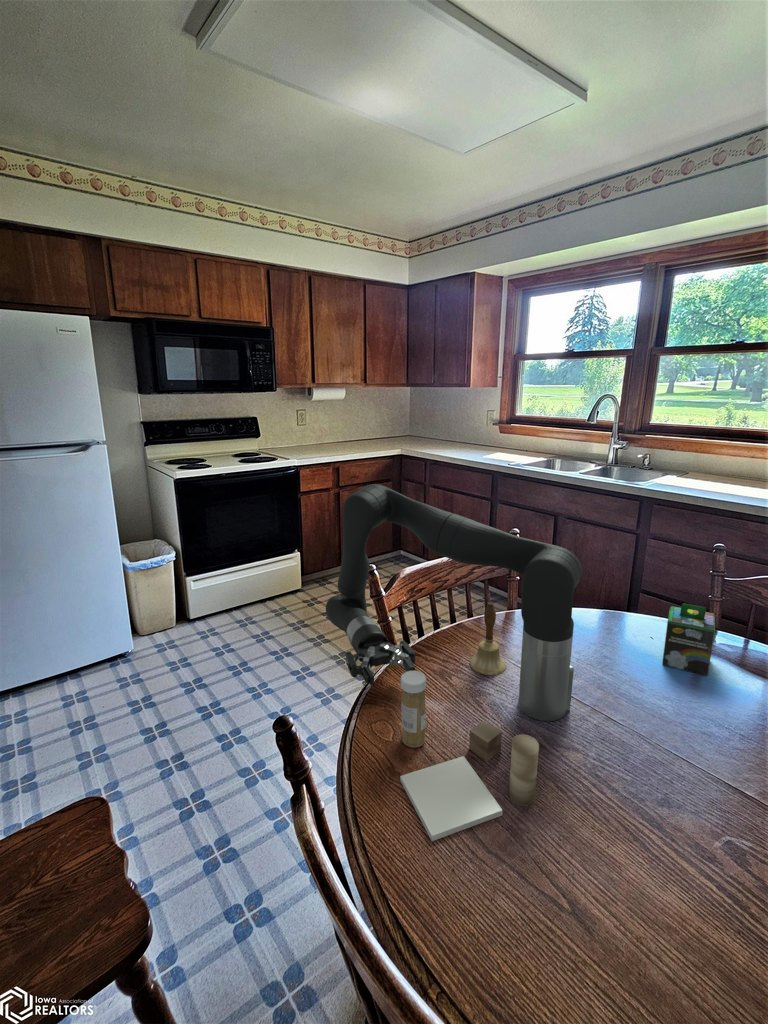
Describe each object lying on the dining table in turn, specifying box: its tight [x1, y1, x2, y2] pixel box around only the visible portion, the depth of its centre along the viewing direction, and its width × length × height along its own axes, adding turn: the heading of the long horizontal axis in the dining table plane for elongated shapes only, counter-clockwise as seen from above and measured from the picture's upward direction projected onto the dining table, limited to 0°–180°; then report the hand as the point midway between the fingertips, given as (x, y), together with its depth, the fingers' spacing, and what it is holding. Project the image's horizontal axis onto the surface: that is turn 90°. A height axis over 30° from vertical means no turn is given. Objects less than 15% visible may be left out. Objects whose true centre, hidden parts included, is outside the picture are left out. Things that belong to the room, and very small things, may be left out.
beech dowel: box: [508, 733, 540, 807], centre depth 78 cm, size 4×4×10 cm
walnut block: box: [468, 720, 503, 762], centre depth 89 cm, size 4×4×4 cm
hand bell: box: [469, 601, 507, 676], centre depth 113 cm, size 8×8×16 cm
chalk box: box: [662, 603, 716, 677], centre depth 113 cm, size 9×9×15 cm
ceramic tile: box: [399, 755, 504, 842], centre depth 79 cm, size 12×12×1 cm
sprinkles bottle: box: [400, 670, 427, 749], centre depth 90 cm, size 5×5×14 cm
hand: (392, 676), depth 99 cm, fingers open, 8 cm apart
